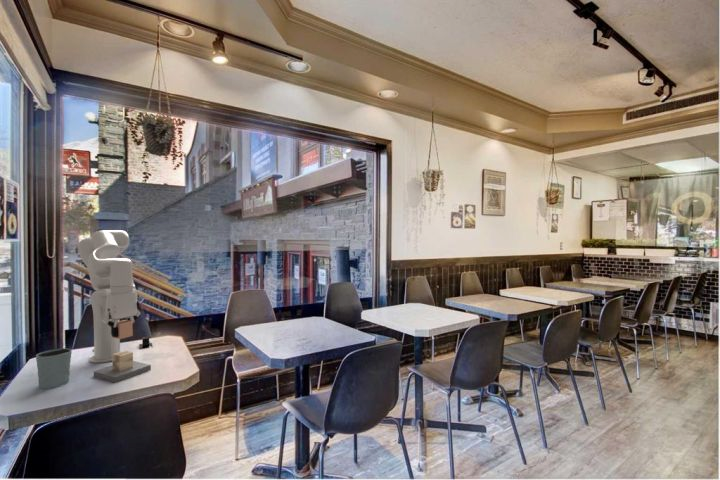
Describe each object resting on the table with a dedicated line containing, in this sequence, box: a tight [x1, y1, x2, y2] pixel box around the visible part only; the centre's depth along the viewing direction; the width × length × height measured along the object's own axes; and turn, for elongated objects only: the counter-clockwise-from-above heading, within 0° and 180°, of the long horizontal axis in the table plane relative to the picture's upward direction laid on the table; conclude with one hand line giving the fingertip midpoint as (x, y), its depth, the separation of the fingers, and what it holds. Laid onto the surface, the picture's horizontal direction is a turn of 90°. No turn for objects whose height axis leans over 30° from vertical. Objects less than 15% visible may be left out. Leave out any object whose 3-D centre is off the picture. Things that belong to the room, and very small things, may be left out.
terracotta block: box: [112, 319, 134, 340], centre depth 143 cm, size 5×5×6 cm
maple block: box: [111, 350, 134, 371], centre depth 143 cm, size 5×5×6 cm
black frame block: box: [138, 336, 153, 350], centre depth 179 cm, size 12×7×5 cm, turn 33°
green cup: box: [35, 347, 73, 390], centre depth 133 cm, size 10×10×12 cm
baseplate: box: [93, 360, 152, 383], centre depth 143 cm, size 14×14×2 cm
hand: (122, 334), depth 143 cm, fingers closed on terracotta block, 5 cm apart
